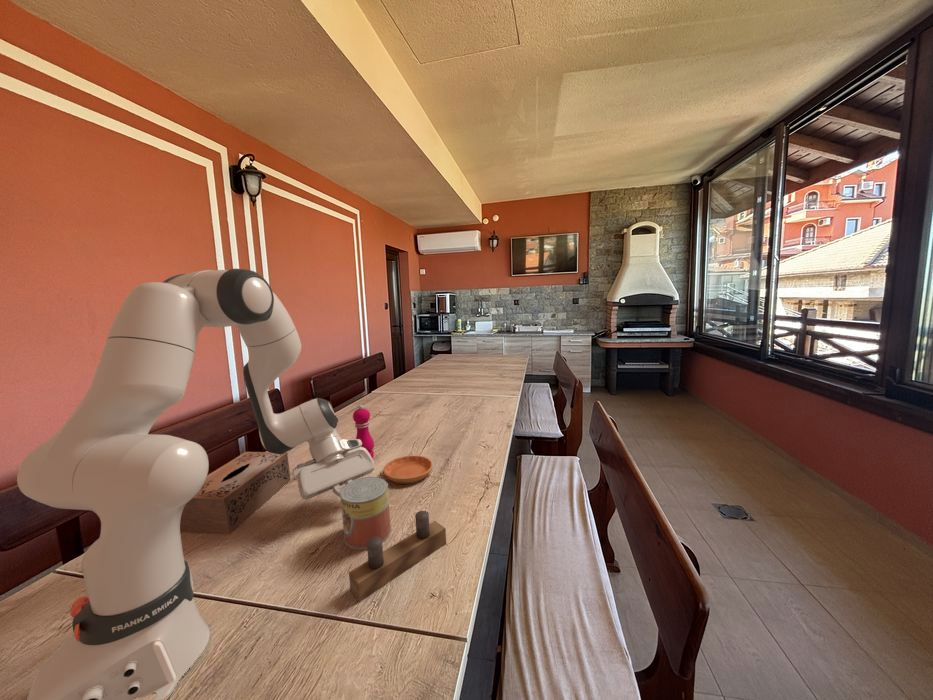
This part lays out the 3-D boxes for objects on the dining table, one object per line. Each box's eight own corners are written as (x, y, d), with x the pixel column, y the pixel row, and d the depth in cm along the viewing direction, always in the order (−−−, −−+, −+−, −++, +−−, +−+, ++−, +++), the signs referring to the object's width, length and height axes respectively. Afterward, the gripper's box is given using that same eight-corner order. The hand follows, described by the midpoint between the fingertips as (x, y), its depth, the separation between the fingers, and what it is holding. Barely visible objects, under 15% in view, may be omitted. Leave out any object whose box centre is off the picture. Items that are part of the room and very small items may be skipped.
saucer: (381, 468, 121) (380, 460, 120) (426, 459, 126) (425, 451, 126) (387, 492, 106) (387, 483, 105) (438, 480, 111) (438, 472, 111)
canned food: (336, 532, 88) (332, 488, 86) (377, 513, 95) (374, 472, 93) (356, 556, 80) (351, 508, 78) (399, 533, 87) (396, 488, 85)
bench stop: (360, 601, 68) (356, 560, 66) (350, 589, 71) (346, 549, 69) (446, 543, 83) (444, 508, 81) (435, 535, 86) (433, 501, 84)
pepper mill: (369, 462, 125) (365, 408, 121) (350, 461, 126) (346, 407, 123) (378, 453, 132) (374, 402, 128) (360, 452, 133) (356, 401, 130)
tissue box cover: (229, 535, 89) (223, 499, 87) (178, 532, 90) (171, 497, 89) (290, 481, 114) (287, 452, 112) (249, 480, 116) (245, 451, 114)
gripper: (292, 462, 90) (310, 512, 85) (365, 437, 104) (385, 480, 98) (288, 472, 94) (306, 521, 88) (359, 447, 108) (378, 488, 102)
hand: (348, 499), depth 94 cm, fingers closed
